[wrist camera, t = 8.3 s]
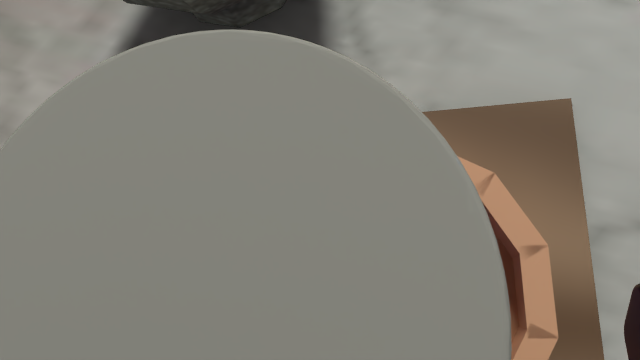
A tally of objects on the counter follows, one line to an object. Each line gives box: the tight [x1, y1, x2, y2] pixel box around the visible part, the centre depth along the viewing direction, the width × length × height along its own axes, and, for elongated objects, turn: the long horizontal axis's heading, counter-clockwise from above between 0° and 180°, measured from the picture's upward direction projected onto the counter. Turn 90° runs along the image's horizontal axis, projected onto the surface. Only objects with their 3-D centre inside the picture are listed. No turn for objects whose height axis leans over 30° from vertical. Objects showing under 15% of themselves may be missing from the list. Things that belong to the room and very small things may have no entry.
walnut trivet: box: [422, 98, 604, 360], centre depth 19 cm, size 13×13×1 cm
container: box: [0, 30, 512, 360], centre depth 11 cm, size 5×5×15 cm
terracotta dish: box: [457, 156, 559, 360], centre depth 18 cm, size 10×10×2 cm
